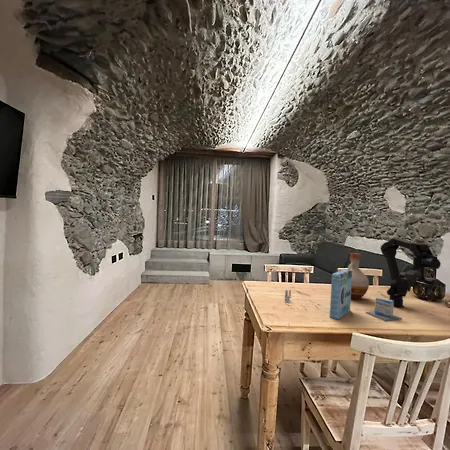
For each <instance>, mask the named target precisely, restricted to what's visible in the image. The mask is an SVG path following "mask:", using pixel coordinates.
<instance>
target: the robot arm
mask: <svg viewBox="0 0 450 450" xmlns="http://www.w3.org/2000/svg"><path fill="white" fill-rule="evenodd" d="M400 247H401V248H404V249H408V250H409V251H410V252H411V254H410V255H409V256H410V257H412V258H413V260H412V266H411V267H410V268H409V270H407V271H405V272H400V270H399V267H398V263H397V259H396V256H397V253H398V251H397V250H399V249H400ZM379 248H380V251H381V255H383V257H385V259H386V262H387V266H388V271H389V275H390V278H391V281H390V283H389V286H390V287H389V288H388V289H387V290H386V294H387V295H388V296H389V298H388V299H389V300H394V305H393V308H394V307H395V308H403V307H405V306H404V299H403V298H405V297H407V294H408V292H411V289H412V285H413V281H415V280H417V281H422V282H424V286H425V287H424V288H425V289H424V297H428V296H429V294H430V292H431V291H432V290H433V289H434V287H437V286H439V285H440V284H441V283H440V282H441V281H440V279H438V278H435V277H427V275H426V271H428V269H432V270H438V269H439V268H440V267H441V261H440V259H438V256H437V255H434V254H433V252H432V250H431V249H430V246H429V244H428V243H419V242H418V243H417V242H413V241H408V240H406V239H402V238H399V237H398V238H397V237H393V238H391V239H389V240H388V241H385V242H384V243H382V245H380V247H379ZM440 286H441V285H440Z"/></svg>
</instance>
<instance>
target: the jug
mask: <svg viewBox="0 0 450 450" xmlns="http://www.w3.org/2000/svg"><path fill="white" fill-rule="evenodd" d="M349 254H350V256H349V260H350V264H348V267H347V269H346V270H349V271H352V282H351V301H352V300H354V301H359V300H361V299H362V298H363V297H364V296H365V295H366V294H367V293H368V290H369V286H370V281H369V278H368V276H367V275H366V274H365V273H364V272H363V271H362V270H361V268H360V261H361V260H362V258H361V257H362V253H355V252H349Z"/></svg>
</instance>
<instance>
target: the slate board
mask: <svg viewBox="0 0 450 450" xmlns="http://www.w3.org/2000/svg"><path fill="white" fill-rule="evenodd" d="M365 314H367V315H370V316H371V317H374V318H377V319H379V320H381V321H384V322H390V321H399V319H401V320H402V319H403V318H402V317H400V316H397V315H394V314H393V316H392V317H391V318H390V317H386V316H382V315H378V314H375V310H373V311H365Z"/></svg>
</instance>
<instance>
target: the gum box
mask: <svg viewBox="0 0 450 450" xmlns="http://www.w3.org/2000/svg"><path fill="white" fill-rule="evenodd" d="M351 282H352V271H349V270H347V269H342V270H340V271H336V272H334V273H331V285H330V286H331V287H330V289H331V290H330V303H329V305H330V306H329V307H330V308H329V318H331V319H335V320H340V319H342V317H344V316H345V315H347V314H348V313H349V312H351V304H352V303H351V301H352V299H351Z"/></svg>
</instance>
